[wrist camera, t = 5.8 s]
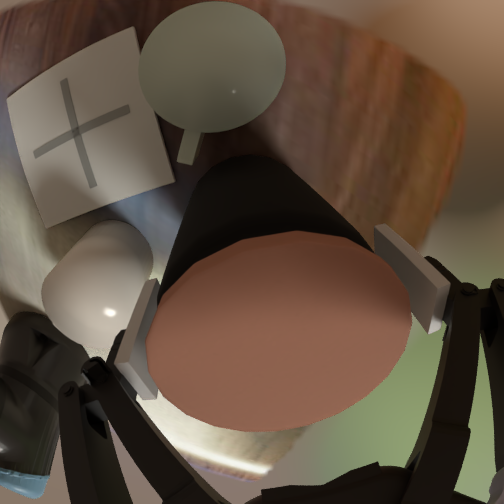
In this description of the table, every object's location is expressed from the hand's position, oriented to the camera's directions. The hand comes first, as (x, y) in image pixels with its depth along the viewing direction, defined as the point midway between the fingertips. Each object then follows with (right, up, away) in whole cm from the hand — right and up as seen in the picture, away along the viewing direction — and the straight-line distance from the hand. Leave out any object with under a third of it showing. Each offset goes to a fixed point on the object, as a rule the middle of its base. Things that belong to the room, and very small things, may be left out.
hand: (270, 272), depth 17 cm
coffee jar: (-1, +5, +10) cm, 11 cm away
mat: (-17, +12, +4) cm, 21 cm away
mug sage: (-4, +14, +5) cm, 16 cm away
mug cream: (-16, 0, +11) cm, 19 cm away
